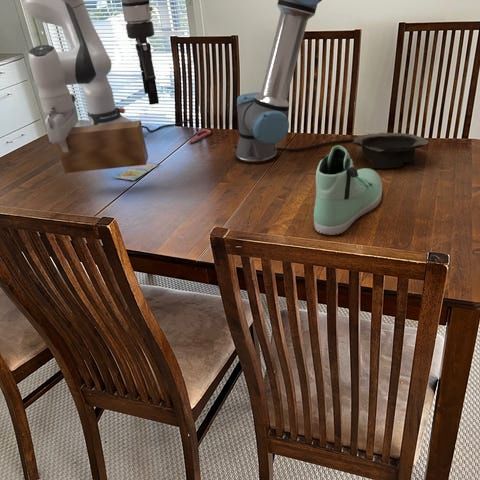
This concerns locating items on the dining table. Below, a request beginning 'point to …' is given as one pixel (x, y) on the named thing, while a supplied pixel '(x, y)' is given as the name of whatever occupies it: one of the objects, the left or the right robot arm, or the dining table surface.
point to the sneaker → (343, 192)
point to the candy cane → (200, 135)
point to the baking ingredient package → (135, 171)
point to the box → (104, 147)
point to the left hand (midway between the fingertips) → (69, 147)
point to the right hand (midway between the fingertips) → (151, 98)
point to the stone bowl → (389, 148)
